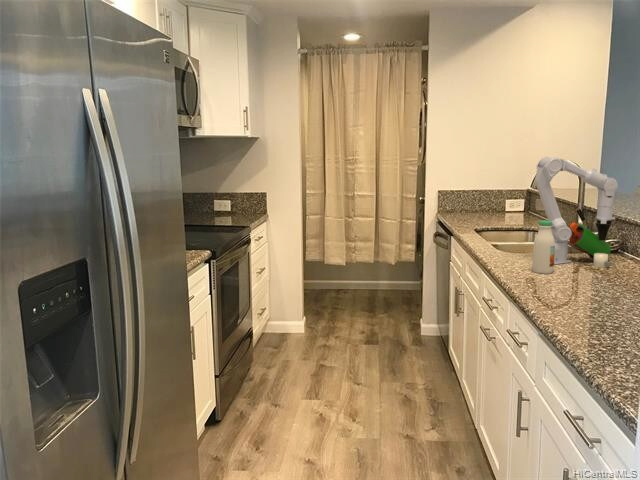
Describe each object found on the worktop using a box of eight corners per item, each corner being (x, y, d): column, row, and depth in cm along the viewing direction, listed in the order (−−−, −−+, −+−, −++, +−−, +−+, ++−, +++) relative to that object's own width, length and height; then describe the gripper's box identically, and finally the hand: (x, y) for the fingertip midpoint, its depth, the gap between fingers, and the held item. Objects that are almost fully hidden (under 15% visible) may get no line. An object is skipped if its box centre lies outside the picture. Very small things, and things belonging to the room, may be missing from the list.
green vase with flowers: (586, 256, 233) (554, 234, 227) (599, 239, 231) (567, 216, 225) (602, 264, 223) (569, 241, 217) (615, 246, 222) (582, 222, 216)
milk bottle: (543, 275, 203) (547, 223, 200) (527, 271, 210) (530, 220, 206) (557, 272, 207) (561, 221, 203) (541, 268, 213) (544, 219, 210)
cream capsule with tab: (605, 269, 212) (606, 256, 211) (590, 265, 218) (591, 253, 217) (614, 267, 214) (615, 255, 213) (598, 264, 220) (599, 252, 219)
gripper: (616, 208, 213) (613, 242, 216) (616, 205, 226) (613, 236, 228) (596, 207, 217) (593, 240, 219) (597, 204, 229) (595, 235, 232)
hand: (602, 238), depth 224 cm, fingers open, 7 cm apart
